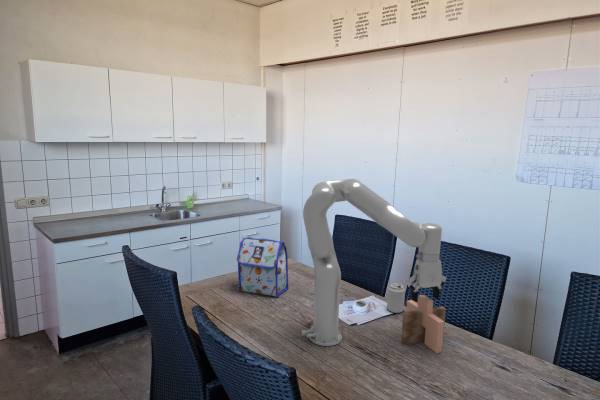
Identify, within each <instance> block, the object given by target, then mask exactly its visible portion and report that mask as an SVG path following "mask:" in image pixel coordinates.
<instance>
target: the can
mask: <svg viewBox="0 0 600 400" xmlns="http://www.w3.org/2000/svg"><path fill="white" fill-rule="evenodd" d="M405 296H406V288H405V286H404V285H403V284H402V283H398V282H397V283H396V282H393V283H390V284H389V286H388V287H387V298H386V299H387V300H386V309H387V310H388V311H389V312H390V311H391V312H390V313H393V314H401V313H402V312H404V310H405Z"/></svg>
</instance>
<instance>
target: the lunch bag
mask: <svg viewBox="0 0 600 400" xmlns="http://www.w3.org/2000/svg"><path fill="white" fill-rule="evenodd" d="M287 251H288V250H287V246H286V243H285V242H284V241H280V240H279V241H278V240H275V239H268V238H254V237H250V236H248V237H243V238H242V240H240V242H239V249H238V252H237V257H236V261H237V271H238V272H237V273H238V274H237V275H238V291H239V292H244V291H245V292H246V293H251V292H252V293H251V294H260V295H265V296H271V297H276V298H279V297H280V295H282V294H283V293H284V292H285V291H287V290H289V288H290V287H289V269H288V268H289V264H288V261H289V260H288V252H287Z"/></svg>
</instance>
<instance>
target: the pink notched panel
mask: <svg viewBox="0 0 600 400" xmlns="http://www.w3.org/2000/svg"><path fill="white" fill-rule="evenodd" d="M433 308H434V300H433V299H431V298H429V297H427V295H425V294H420V295H419V294H418V301H417V302H414V301H413V300H412V299H409V300H407V301H406V310H405V312H409V311H416V310H419V311H420V312H421V325H422V326H423V327H424V328H426V331H425V341H424V345H426V346H427V347H428V348H429V349H430V350H432V351H433V352H434V353H435V354H439V353H442V352H443V342H444V337H443V333H444V334H445V326H444V321H443V320H441V319H440V318H438V317H437V316H435V315H434V314H432V312H433Z"/></svg>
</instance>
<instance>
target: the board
mask: <svg viewBox="0 0 600 400" xmlns="http://www.w3.org/2000/svg"><path fill="white" fill-rule="evenodd" d="M402 312H403V313H402V325H401V326H402V327H401V330H402V331H401V339H400V340H401V343H402V344H403V345H408V344H413V343H419V342H420V343H421V342H425V331H426V328H424V327H423V326H422V325H421V312H420V311H419V310H416V311H409V312H406V311H402ZM446 312H447V308H445V307H444V306H437V307H433V312H432V314H434V315H435V316H437V317H438V318H440V319H441V320H443V321H444V327H445V324H446V323H445V322H446V314H447V313H446ZM444 334H445V332H444V333H443V338H444V337H445V335H444Z"/></svg>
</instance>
